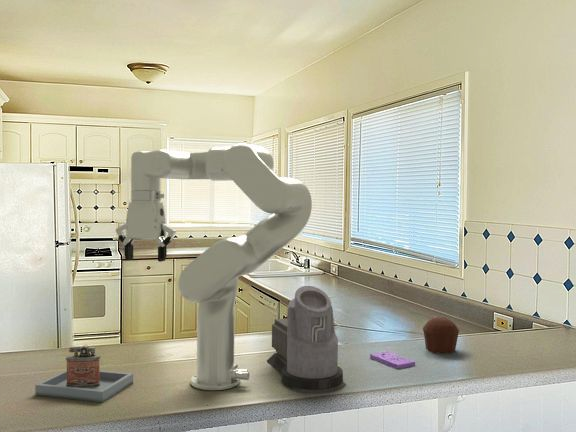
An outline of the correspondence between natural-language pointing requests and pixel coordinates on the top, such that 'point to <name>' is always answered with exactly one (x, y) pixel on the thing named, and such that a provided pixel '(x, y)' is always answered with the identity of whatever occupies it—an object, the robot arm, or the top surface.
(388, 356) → the sponges
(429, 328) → the muffin
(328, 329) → the juicer
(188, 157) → the robot arm
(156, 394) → the top surface
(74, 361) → the lighter
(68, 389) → the tray
